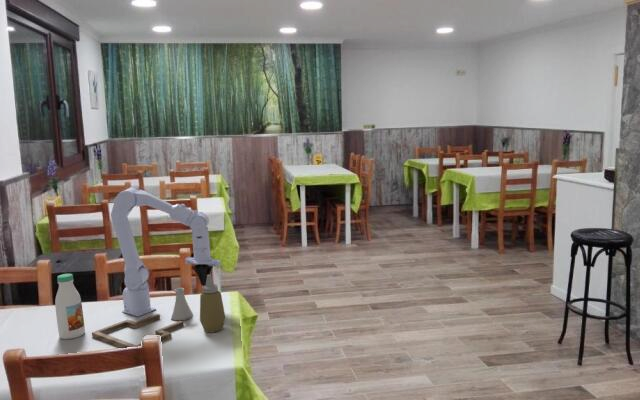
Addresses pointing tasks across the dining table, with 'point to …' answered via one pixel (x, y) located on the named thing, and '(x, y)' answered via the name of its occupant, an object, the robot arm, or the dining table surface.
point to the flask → (181, 306)
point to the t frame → (123, 344)
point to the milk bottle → (68, 309)
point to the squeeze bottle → (211, 307)
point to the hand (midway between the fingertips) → (204, 284)
